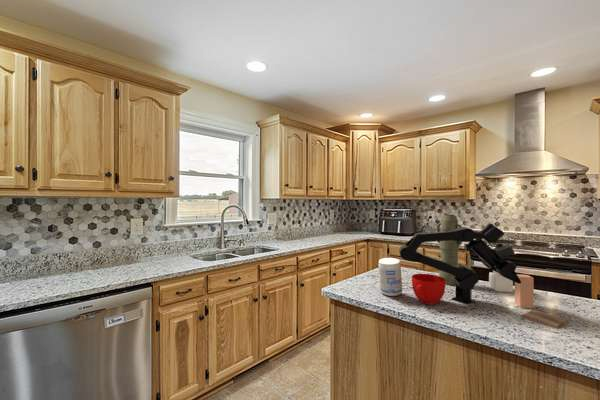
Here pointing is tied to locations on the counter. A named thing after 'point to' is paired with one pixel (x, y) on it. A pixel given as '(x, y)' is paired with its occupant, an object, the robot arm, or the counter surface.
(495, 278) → the medicine bottle
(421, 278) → the ceramic cup
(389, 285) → the supplement tub
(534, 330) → the counter surface
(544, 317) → the walnut board
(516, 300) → the terracotta block
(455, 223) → the thermos
